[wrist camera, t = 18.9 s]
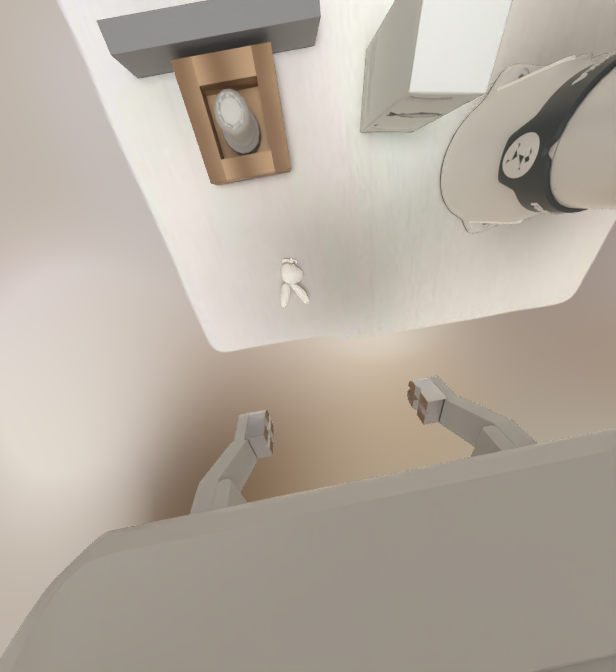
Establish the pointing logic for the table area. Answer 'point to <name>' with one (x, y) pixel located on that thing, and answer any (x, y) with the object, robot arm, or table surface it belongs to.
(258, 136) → the rook chess piece
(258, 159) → the socket block
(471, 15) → the supplement box
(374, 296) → the table surface
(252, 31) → the backstop board
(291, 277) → the rabbit figurine
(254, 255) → the table surface
